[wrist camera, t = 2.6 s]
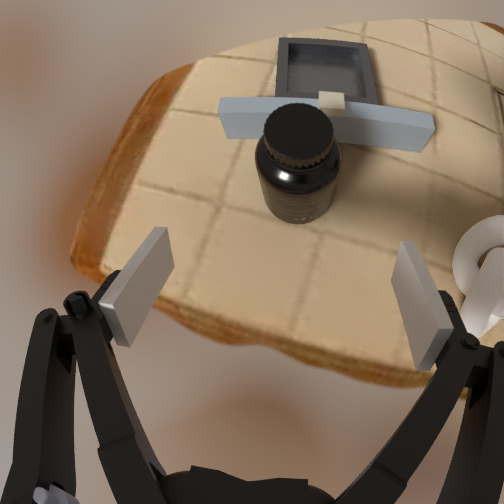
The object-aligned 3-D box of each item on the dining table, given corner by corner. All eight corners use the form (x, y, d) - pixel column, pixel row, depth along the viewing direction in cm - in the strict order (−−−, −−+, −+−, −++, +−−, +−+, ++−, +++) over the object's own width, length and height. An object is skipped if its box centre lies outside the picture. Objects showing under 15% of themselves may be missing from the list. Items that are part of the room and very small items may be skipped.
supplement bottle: (259, 169, 32) (243, 97, 20) (323, 160, 32) (335, 86, 20) (268, 231, 31) (254, 179, 19) (336, 222, 30) (361, 165, 18)
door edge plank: (417, 137, 31) (435, 107, 25) (419, 153, 30) (439, 123, 24) (229, 124, 34) (218, 90, 28) (227, 138, 33) (215, 106, 27)
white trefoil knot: (467, 369, 25) (517, 381, 16) (409, 283, 28) (451, 269, 19) (522, 298, 25) (572, 290, 17) (471, 218, 28) (515, 188, 20)
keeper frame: (364, 56, 34) (366, 43, 32) (374, 120, 32) (378, 107, 29) (280, 50, 36) (279, 37, 33) (276, 112, 33) (274, 99, 31)
